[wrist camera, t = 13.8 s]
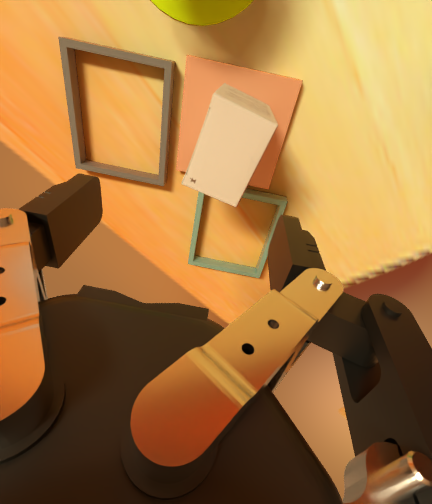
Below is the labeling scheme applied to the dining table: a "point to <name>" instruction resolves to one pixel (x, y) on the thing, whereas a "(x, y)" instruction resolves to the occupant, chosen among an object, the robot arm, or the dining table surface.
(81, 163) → the grey rectangular frame
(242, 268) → the green rectangular frame
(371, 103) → the dining table surface
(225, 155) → the small box
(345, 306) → the robot arm
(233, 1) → the toy cauldron
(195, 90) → the terracotta tile
